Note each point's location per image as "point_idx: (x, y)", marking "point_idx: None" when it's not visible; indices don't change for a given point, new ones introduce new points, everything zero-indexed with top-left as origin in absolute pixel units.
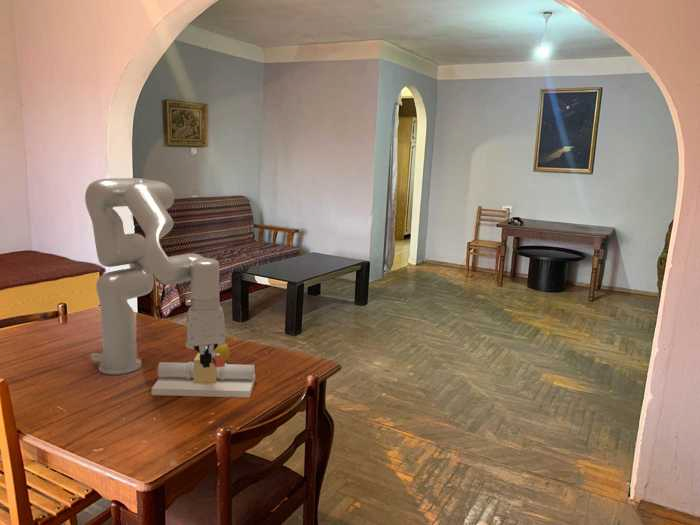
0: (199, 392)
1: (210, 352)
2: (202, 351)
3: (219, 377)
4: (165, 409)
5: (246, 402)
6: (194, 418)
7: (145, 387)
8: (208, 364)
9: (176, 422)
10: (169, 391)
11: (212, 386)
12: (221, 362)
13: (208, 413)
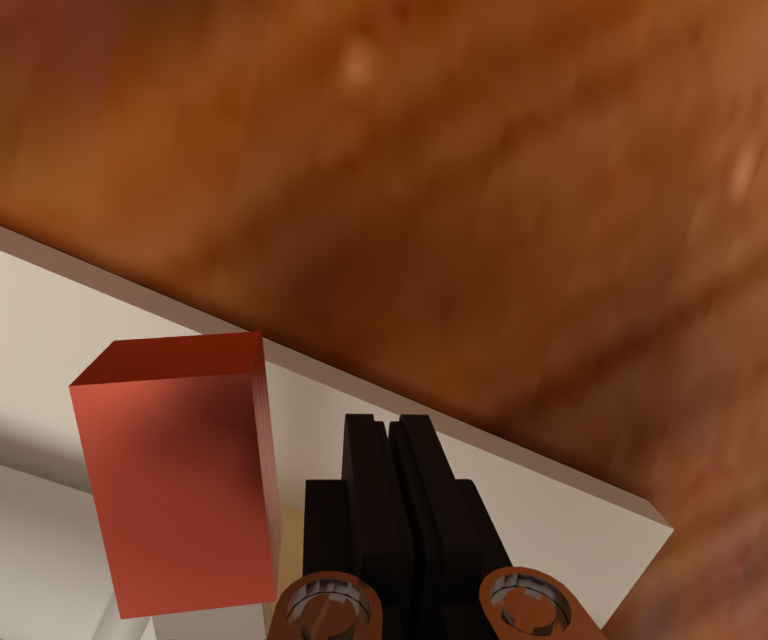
0: (383, 399)
1: (333, 602)
2: (526, 636)
3: None
4: (640, 277)
5: (36, 144)
6: (510, 43)
7: (643, 602)
8: (366, 430)
9: (643, 38)
10: (569, 478)
11: (274, 434)
12: (150, 365)
13: (389, 80)
